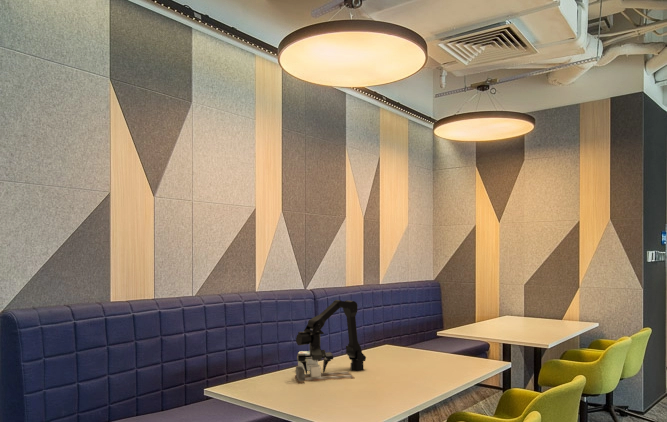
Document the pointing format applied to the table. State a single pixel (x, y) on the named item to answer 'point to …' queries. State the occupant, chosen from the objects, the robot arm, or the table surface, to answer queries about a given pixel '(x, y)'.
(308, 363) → the light bulb box
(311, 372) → the cream white cube
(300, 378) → the track board
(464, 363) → the table surface
